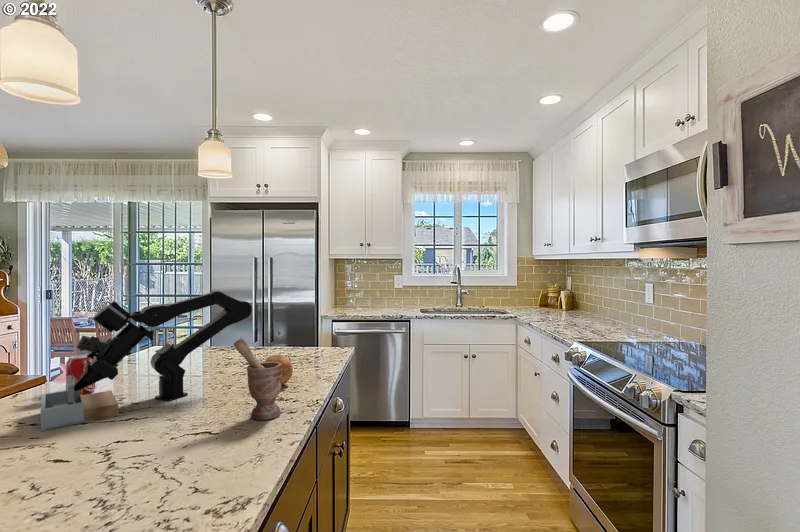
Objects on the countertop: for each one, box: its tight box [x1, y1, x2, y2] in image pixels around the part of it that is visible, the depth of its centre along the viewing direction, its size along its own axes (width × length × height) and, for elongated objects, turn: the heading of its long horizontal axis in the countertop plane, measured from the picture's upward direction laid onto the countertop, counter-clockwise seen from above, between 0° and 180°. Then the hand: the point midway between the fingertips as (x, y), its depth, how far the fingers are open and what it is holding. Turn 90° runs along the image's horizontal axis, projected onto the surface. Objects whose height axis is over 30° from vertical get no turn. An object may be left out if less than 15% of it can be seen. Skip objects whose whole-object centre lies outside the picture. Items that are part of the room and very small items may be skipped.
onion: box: [264, 353, 294, 385], centre depth 135 cm, size 10×10×10 cm
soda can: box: [65, 353, 96, 396], centre depth 126 cm, size 7×7×12 cm
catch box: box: [40, 389, 85, 432], centre depth 107 cm, size 8×17×5 cm, turn 40°
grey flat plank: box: [65, 375, 74, 405], centre depth 109 cm, size 1×14×6 cm, turn 40°
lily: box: [52, 363, 98, 389], centre depth 132 cm, size 12×12×10 cm
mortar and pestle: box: [233, 338, 283, 421], centre depth 107 cm, size 12×9×20 cm
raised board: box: [80, 390, 119, 423], centre depth 112 cm, size 7×16×3 cm, turn 40°
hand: (74, 390), depth 109 cm, fingers closed, pressing on grey flat plank
